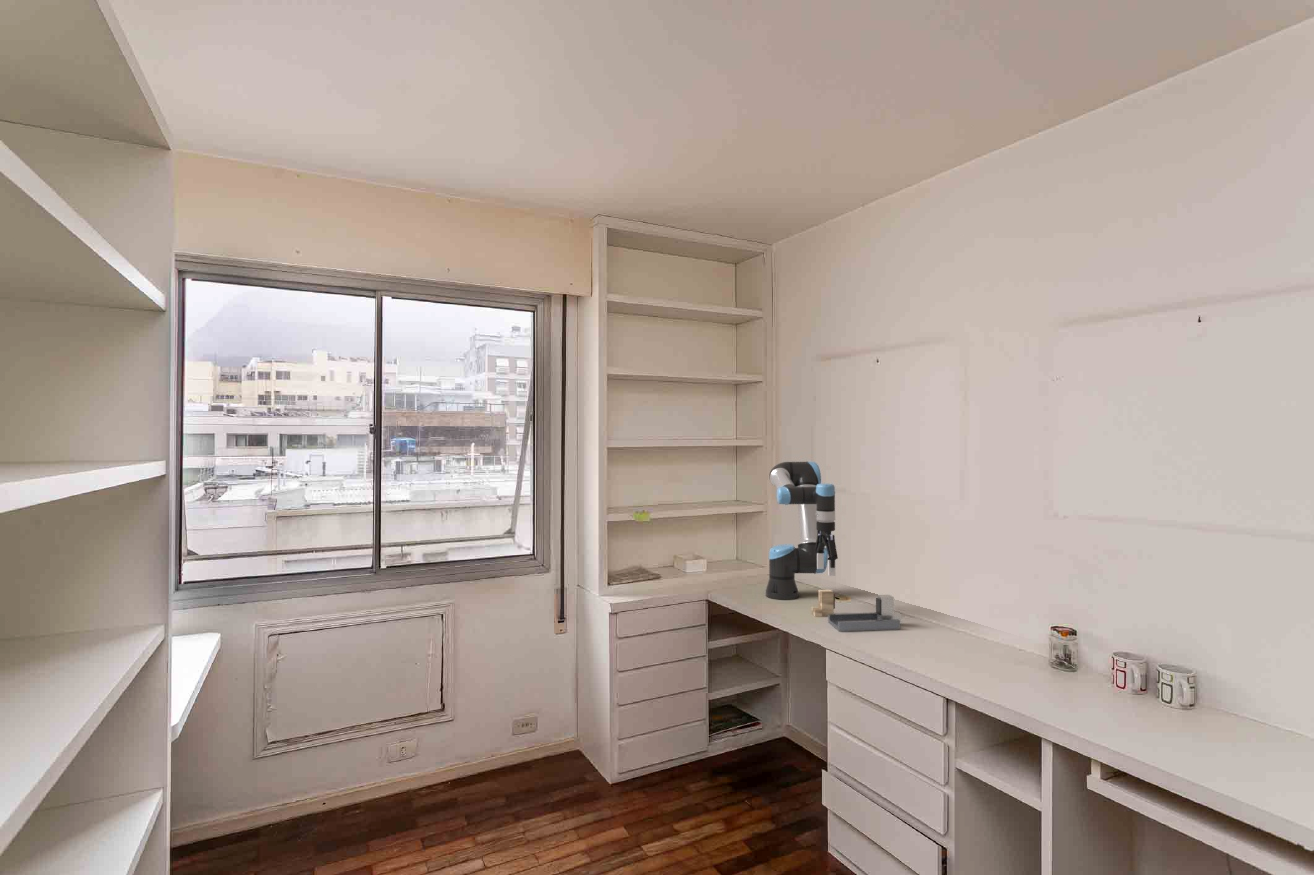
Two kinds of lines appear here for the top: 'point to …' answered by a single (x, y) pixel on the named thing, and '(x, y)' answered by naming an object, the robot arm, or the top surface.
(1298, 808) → the top surface
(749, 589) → the top surface
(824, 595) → the wooden stepped block
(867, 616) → the grey tray with panel
